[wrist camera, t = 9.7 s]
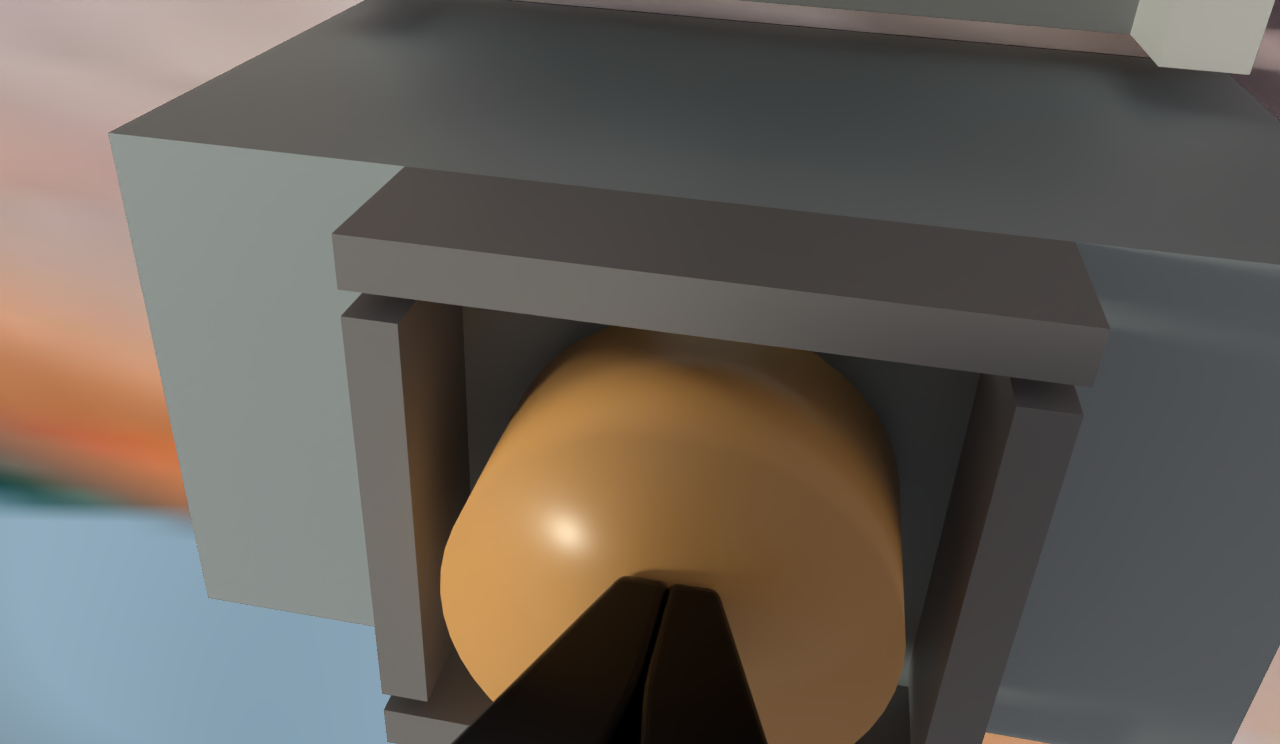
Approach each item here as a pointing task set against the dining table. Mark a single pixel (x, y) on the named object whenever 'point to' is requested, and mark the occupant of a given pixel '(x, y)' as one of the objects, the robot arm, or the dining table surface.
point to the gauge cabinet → (742, 325)
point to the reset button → (694, 519)
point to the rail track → (1113, 23)
